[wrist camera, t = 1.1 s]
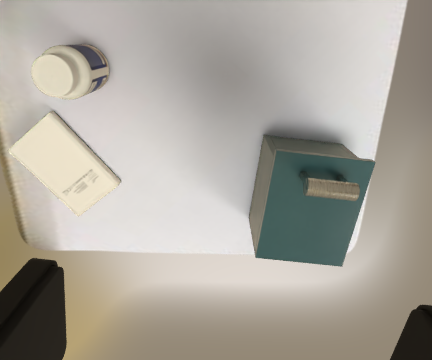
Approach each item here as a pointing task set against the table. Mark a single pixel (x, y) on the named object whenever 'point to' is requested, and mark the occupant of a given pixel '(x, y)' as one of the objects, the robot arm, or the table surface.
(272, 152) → the teal open box
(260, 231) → the teal box lid
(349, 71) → the table surface
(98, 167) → the hard drive
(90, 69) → the pill bottle
